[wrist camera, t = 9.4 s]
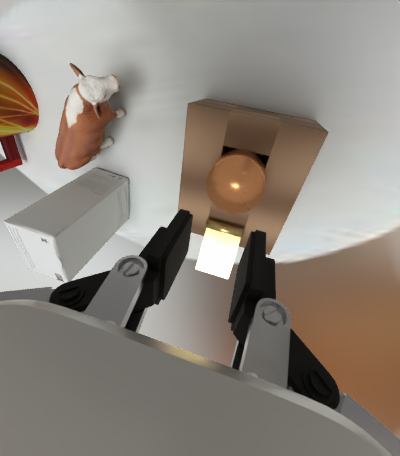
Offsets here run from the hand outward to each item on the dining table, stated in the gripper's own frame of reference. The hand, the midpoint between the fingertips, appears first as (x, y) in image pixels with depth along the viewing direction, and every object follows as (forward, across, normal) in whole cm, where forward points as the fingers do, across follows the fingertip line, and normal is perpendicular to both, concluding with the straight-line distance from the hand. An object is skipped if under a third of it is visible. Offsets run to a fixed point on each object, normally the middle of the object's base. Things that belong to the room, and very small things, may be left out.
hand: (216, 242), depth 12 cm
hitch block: (+17, 0, +2) cm, 17 cm away
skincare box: (+17, +19, +11) cm, 28 cm away
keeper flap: (+10, 0, +9) cm, 13 cm away
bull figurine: (+18, +18, -1) cm, 25 cm away
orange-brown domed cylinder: (+17, 0, 0) cm, 17 cm away
